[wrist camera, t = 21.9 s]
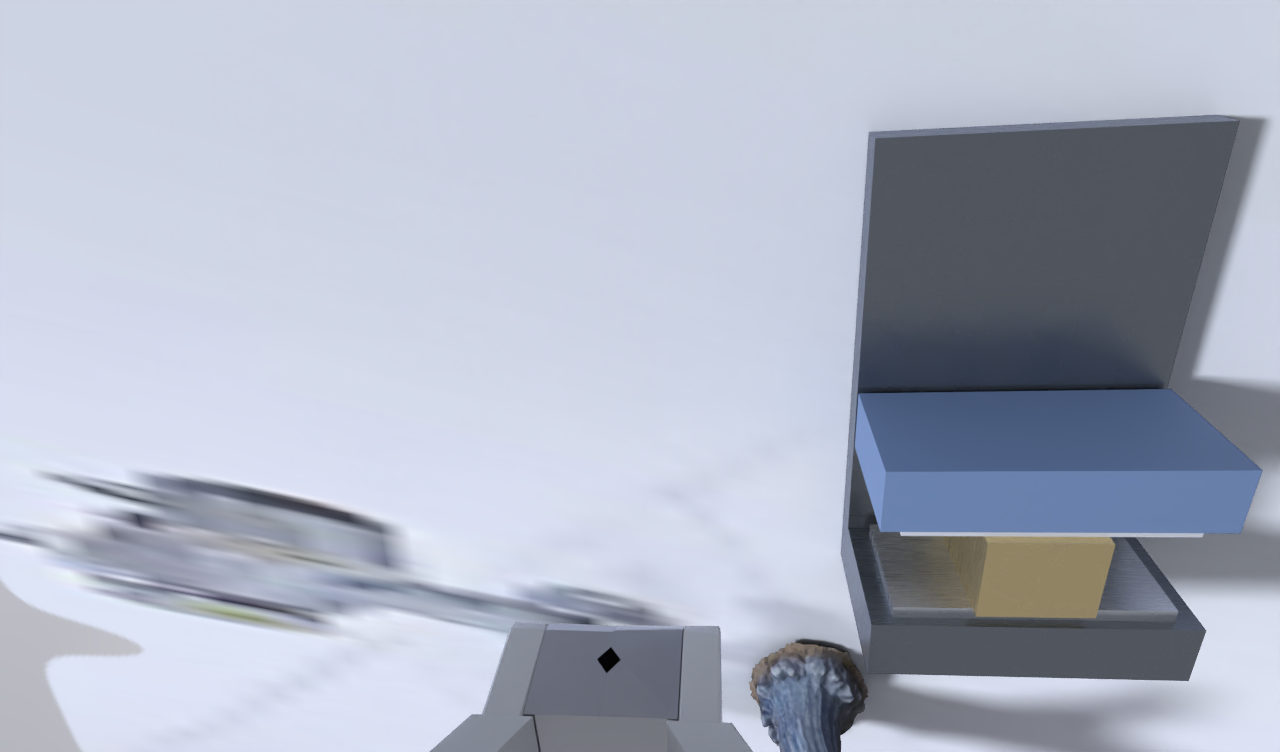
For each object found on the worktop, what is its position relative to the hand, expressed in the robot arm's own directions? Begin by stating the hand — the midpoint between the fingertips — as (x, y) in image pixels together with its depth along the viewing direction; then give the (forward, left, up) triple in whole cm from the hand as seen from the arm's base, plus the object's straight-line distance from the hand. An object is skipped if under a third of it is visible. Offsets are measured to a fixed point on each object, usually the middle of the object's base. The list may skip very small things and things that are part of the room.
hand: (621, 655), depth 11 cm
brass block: (+15, +15, -26) cm, 33 cm away
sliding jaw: (+11, +15, -25) cm, 31 cm away
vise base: (+9, +15, -27) cm, 32 cm away
